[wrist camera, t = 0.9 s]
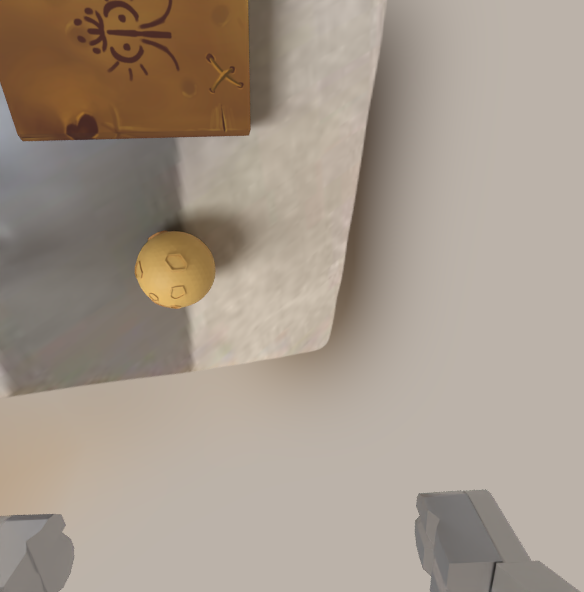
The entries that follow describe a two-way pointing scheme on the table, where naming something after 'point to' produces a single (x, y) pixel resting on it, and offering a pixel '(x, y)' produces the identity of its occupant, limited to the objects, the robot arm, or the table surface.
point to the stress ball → (175, 269)
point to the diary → (125, 68)
